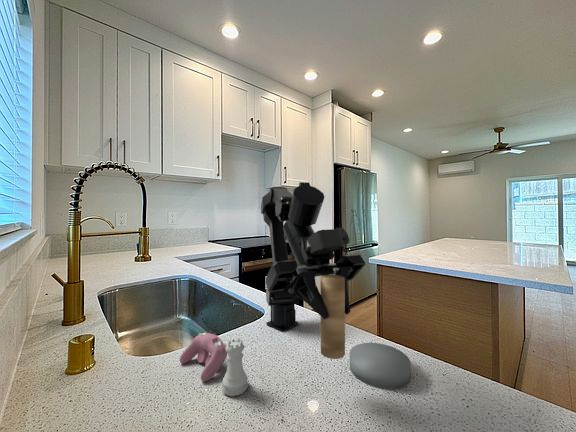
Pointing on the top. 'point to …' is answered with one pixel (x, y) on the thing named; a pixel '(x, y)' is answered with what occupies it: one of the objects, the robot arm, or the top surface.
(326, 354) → the teak pillar
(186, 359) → the video game controller
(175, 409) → the top surface
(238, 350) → the rook chess piece
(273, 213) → the robot arm
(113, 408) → the top surface
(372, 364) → the grey plinth
